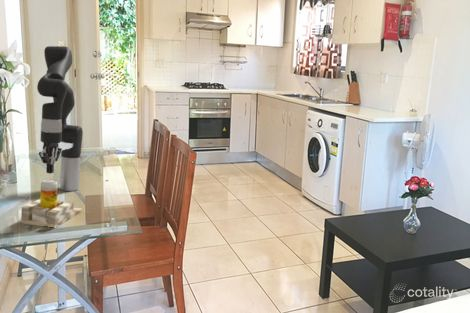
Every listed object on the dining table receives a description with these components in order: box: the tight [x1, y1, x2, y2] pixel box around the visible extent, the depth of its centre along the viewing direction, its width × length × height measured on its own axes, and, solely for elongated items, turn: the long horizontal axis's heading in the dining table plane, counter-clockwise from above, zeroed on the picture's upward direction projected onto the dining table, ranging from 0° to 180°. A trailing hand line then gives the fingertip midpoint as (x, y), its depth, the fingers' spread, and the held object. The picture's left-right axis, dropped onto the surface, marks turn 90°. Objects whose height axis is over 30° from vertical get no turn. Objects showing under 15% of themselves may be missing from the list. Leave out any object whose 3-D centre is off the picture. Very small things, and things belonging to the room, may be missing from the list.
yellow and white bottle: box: [39, 178, 59, 211], centre depth 164 cm, size 6×6×15 cm
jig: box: [20, 198, 83, 228], centre depth 169 cm, size 22×14×6 cm, turn 174°
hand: (49, 172), depth 162 cm, fingers closed
